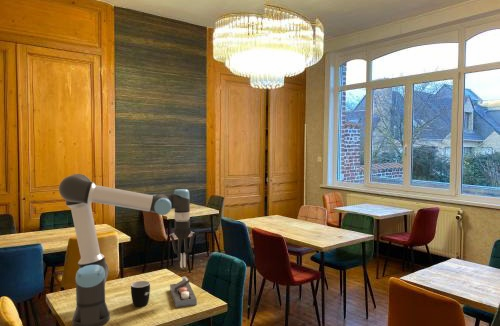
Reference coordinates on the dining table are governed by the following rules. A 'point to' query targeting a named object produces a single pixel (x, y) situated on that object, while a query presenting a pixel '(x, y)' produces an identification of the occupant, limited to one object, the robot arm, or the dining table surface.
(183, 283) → the rocker
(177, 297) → the panel
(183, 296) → the cream button
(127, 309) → the dining table surface
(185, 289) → the red button
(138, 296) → the mug
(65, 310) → the dining table surface
